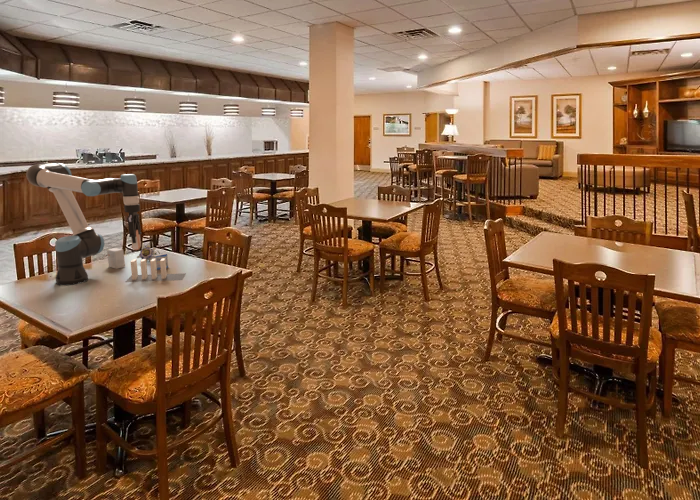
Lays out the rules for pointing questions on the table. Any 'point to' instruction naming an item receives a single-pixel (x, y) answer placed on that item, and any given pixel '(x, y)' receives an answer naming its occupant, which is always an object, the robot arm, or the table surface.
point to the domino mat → (158, 278)
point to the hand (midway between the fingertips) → (136, 247)
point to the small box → (116, 258)
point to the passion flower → (147, 253)
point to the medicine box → (159, 257)
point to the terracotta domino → (137, 239)
